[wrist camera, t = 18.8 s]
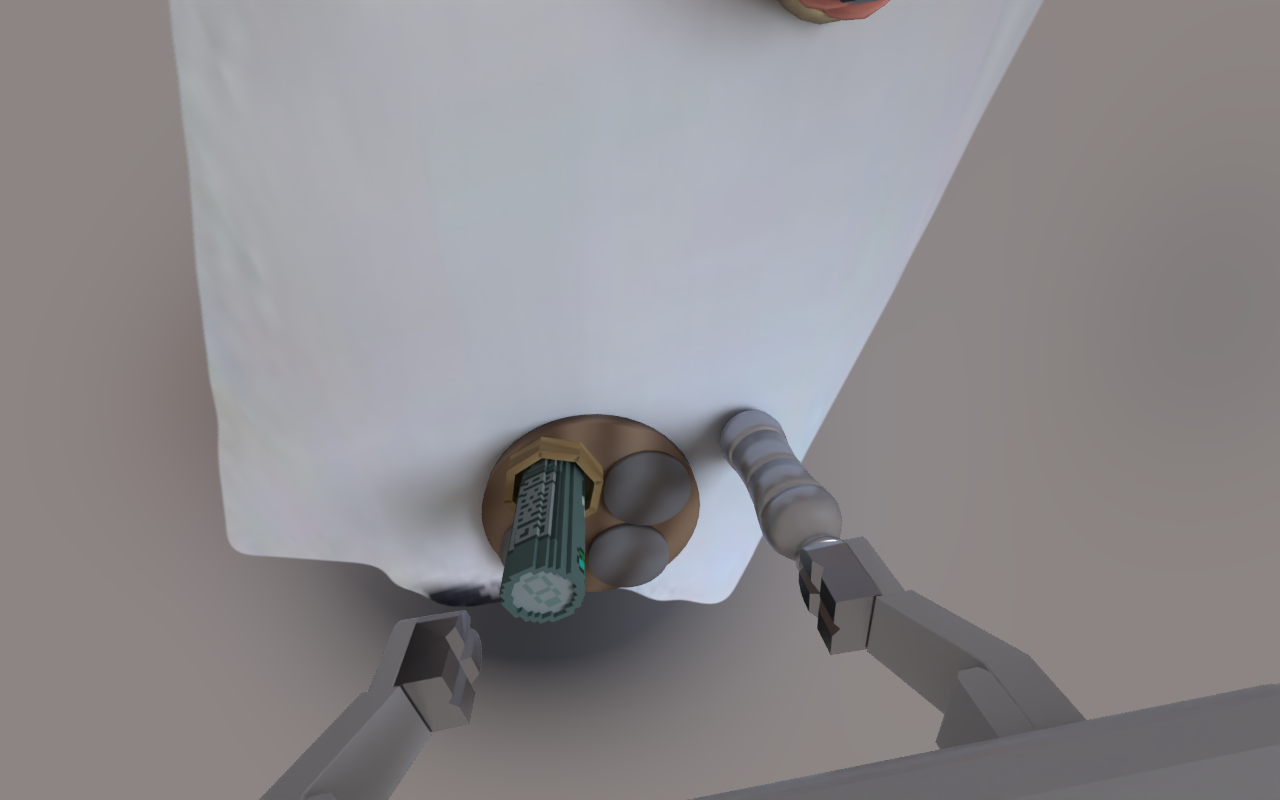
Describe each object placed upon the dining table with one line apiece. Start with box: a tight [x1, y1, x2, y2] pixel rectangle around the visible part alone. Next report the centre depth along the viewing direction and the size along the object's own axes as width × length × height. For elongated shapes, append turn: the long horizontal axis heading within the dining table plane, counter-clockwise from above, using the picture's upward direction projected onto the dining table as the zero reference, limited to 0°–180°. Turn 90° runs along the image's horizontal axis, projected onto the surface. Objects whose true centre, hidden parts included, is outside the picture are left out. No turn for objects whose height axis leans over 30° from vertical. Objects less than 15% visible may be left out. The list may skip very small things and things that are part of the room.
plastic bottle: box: [720, 410, 842, 571], centre depth 42 cm, size 6×7×20 cm
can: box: [499, 458, 585, 623], centre depth 42 cm, size 6×6×15 cm
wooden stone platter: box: [482, 414, 700, 592], centre depth 51 cm, size 24×24×4 cm
